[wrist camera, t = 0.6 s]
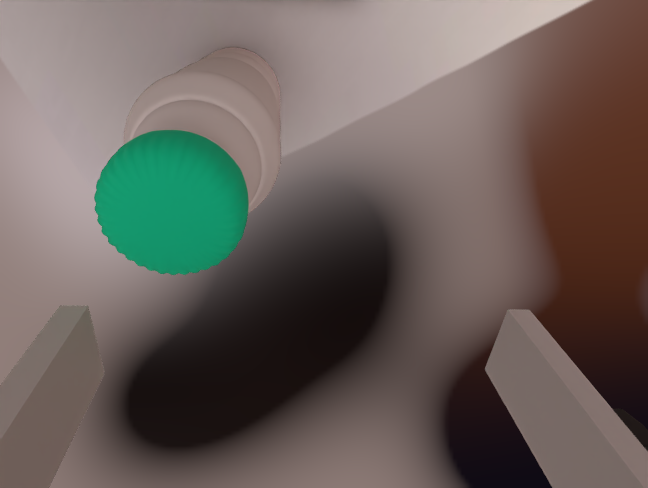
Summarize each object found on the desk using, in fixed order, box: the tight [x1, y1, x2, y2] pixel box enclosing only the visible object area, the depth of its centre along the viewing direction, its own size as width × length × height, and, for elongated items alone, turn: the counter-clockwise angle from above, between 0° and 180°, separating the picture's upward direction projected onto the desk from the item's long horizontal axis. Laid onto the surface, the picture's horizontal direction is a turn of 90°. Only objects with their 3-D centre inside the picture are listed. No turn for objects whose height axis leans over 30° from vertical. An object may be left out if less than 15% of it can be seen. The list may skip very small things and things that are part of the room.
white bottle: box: [94, 47, 281, 275], centre depth 23 cm, size 7×7×25 cm
